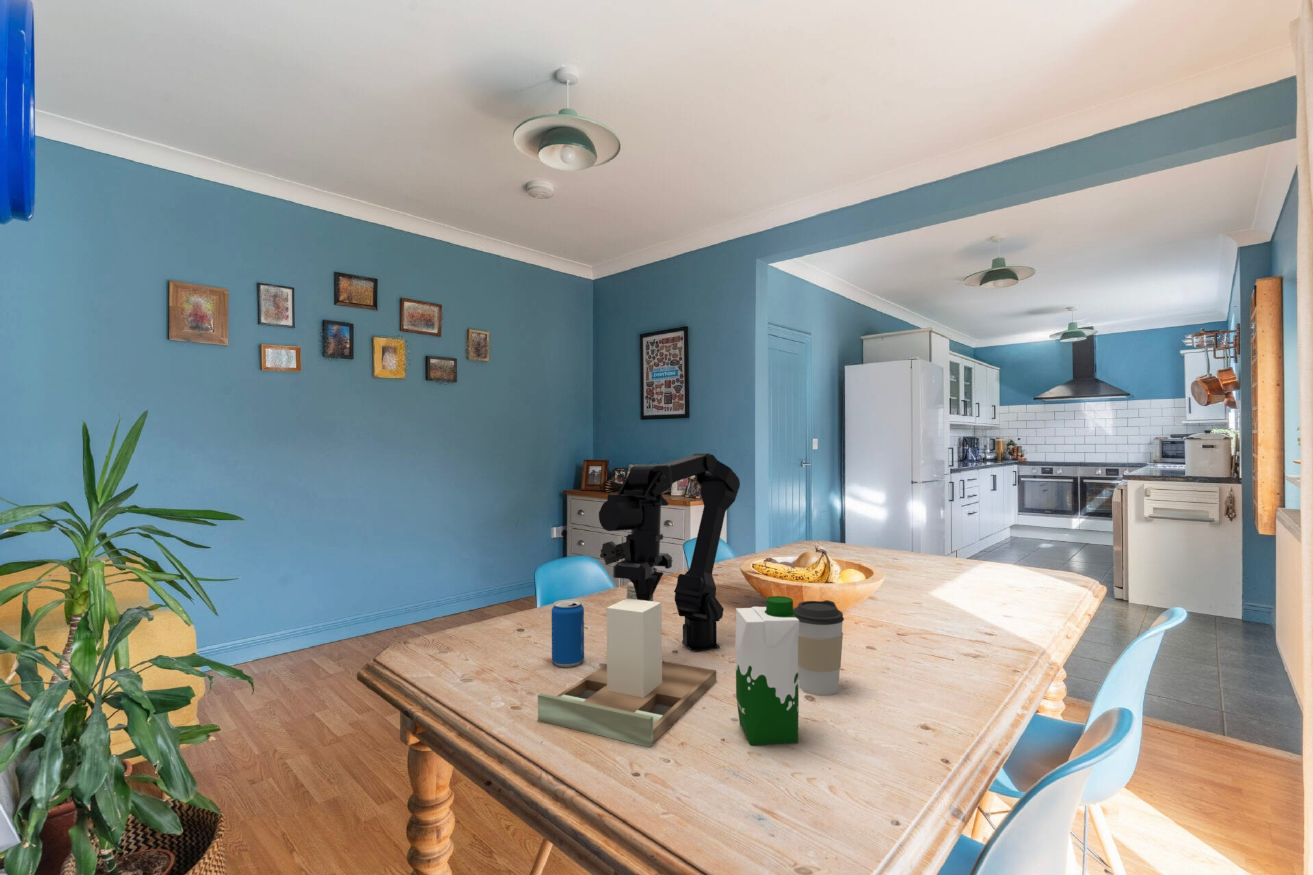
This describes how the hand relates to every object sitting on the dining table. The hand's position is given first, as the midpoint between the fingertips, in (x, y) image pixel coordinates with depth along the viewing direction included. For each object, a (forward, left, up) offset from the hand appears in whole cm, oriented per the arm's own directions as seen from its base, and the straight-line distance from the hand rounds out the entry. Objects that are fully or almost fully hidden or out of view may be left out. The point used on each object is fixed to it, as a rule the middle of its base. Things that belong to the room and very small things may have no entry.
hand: (642, 609), depth 116 cm
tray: (+5, +12, -12) cm, 17 cm away
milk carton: (-10, +31, -12) cm, 34 cm away
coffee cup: (-27, +19, -12) cm, 35 cm away
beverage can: (+13, -9, -12) cm, 20 cm away
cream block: (+5, +12, -10) cm, 16 cm away
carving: (-6, -22, -12) cm, 26 cm away
